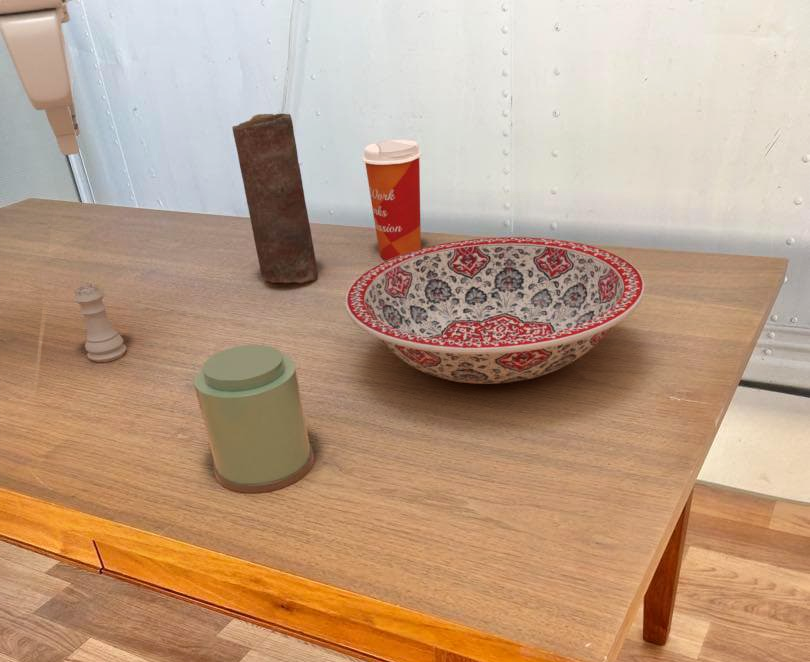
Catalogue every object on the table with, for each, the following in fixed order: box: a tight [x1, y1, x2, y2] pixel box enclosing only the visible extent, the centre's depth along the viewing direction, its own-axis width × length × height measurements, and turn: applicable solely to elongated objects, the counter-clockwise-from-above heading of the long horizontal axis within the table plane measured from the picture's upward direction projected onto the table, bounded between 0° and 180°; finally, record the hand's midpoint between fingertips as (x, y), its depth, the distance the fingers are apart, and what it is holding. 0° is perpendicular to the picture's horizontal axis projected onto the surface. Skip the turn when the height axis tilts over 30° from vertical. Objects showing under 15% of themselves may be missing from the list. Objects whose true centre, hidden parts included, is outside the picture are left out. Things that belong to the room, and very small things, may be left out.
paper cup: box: [361, 139, 423, 261], centre depth 112 cm, size 8×8×14 cm
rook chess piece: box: [73, 282, 127, 363], centre depth 95 cm, size 4×4×8 cm
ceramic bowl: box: [344, 236, 646, 385], centre depth 86 cm, size 29×29×8 cm
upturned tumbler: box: [193, 344, 315, 494], centre depth 72 cm, size 9×9×10 cm
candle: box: [232, 113, 319, 284], centre depth 106 cm, size 8×7×20 cm
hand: (71, 143), depth 86 cm, fingers open, 8 cm apart
